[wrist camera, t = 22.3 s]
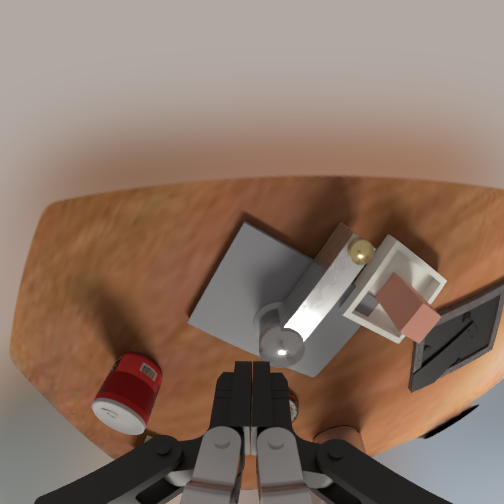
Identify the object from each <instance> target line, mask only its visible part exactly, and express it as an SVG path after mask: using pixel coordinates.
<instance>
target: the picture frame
mask: <svg viewBox="0 0 504 504" xmlns="http://www.w3.org/2000/svg"><path fill="white" fill-rule="evenodd" d="M503 305H504V281H502V282H500V283H498V284H496V285H494V286H493V287H491V288H489V289H487V290H485V291H483V292H481V293H479V294H477V295H475V296H473V297H471V298H469V299H466V300H464V301H462V302H460V303H458V304H456V305H453V306H451V307H449V308H447V309H444V310H442V311H440V312H437V313H438V314H439V315H440V316H441V318H440V319H439V321H438V322H437V323H436V324H435V326H434V327H433V328H432V329H431V330H430V332H429V333H428V334H427V335H426V336H425V338H424V339H423V340H422V341H421V342H420V343H417V342H415V341H414V343H413V354H412V364H411V372H410V380H409V386H408V388H409V390H410V391H411V392H414V391H416V390H419V389H421V388H423V387H425V386H428V385H430V384H432V383H434V382H435V381H436V380H437V379H439V378H441V377H443V376H445V375H447V374H449V373H451V372H453V371H455V370H457V369H459V368H461V367H463V366H464V365H466V364H468V363H470V362H472V361H473V360H475V359H477V358H479V357H480V356H482V355H484V354H485V353H487V352H489V351H490V350H492V348H493V345H494V341H495V338H496V334H497V330H498V327H499V323H500V318H501V314H502V310H503Z"/></svg>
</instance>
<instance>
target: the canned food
mask: <svg viewBox="0 0 504 504" xmlns="http://www.w3.org/2000/svg"><path fill="white" fill-rule="evenodd" d="M161 383H162V373H161V370H160V368H159V367H158V366H157V364H156V363H155V362H153V361H152V360H151V359H149V358H148V357H146V356H144V355H141V354H138V353H132V352H130V353H125V354H123V355H122V356H120V357H119V358H118V359H117V361H116V363H115V364H114V366H113V368H112V369H111V371H110V373H109V374H108V376H107V378H106V380H105V381H104V383H103V385H102V386H101V388H100V390H99V392H98V394H97V395H96V397H95V399H94V401H93V404H92V409H93V412H94V413H95V415H96V416H97V417H98V418H99V419H100V420H101V421H102V422H103V423H105V424H106V425H108V426H109V427H111V428H113V429H115V430H117V431H119V432H122V433H125V434H130V435H139V434H141V433H143V432H144V430H145V428H146V425H147V423H148V420H149V417H150V414H151V411H152V408H153V406H154V403H155V400H156V397H157V394H158V392H159V389H160V386H161Z"/></svg>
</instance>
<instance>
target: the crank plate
mask: <svg viewBox="0 0 504 504" xmlns="http://www.w3.org/2000/svg"><path fill="white" fill-rule="evenodd" d="M313 261H314V260H313V259H312V258H310V257H308V256H307V255H305V254H303V253H301V252H300V251H298V250H296V249H294V248H293V247H291V246H289V245H287V244H286V243H284V242H282V241H280V240H279V239H277V238H275V237H273V236H271V235H270V234H268V233H266V232H264V231H263V230H261V229H259V228H257V227H255V226H254V225H252V224H250V223H248V222H247V221H244V222H243V224H242V226H241V228H240V229H239V231H238V233H237V234H236V236H235V238H234V240H233V241H232V243H231V245H230V247H229V248H228V250H227V252H226V254H225V255H224V257H223V259H222V261H221V262H220V264H219V266H218V268H217V269H216V271H215V273H214V275H213V276H212V278H211V280H210V282H209V284H208V285H207V287H206V289H205V291H204V292H203V294H202V296H201V298H200V300H199V301H198V303H197V305H196V307H195V309H194V310H193V312H192V314H191V316H190V318H189V320H188V322H187V323H188V324H190V325H192V326H194V327H196V328H198V329H200V330H202V331H204V332H206V333H209V334H211V335H213V336H215V337H217V338H219V339H221V340H223V341H225V342H228V343H230V344H232V345H234V346H236V347H239V348H241V349H243V350H245V351H248V352H250V353H252V354H255V355H257V356H259V357H260V355H259V322H260V320H261V318H262V316H263V315H264V314H265V313H267V312H268V311H270V310H272V309H277V308H279V307H280V306H281V305H282V303H283V302H284V301H285V299H286V298H287V297H288V295H289V294H290V292H291V291H292V290H293V288H294V287H295V286H296V284H297V283H298V282H299V280H300V279H301V277H302V276H303V275H304V273H305V272H306V270H307V269H308V268H309V266H310V265H311V263H312V262H313ZM355 288H356V286H355V284H354V283H353V282H352V283H351V284H350V285H349V287H348V288H347V289H346V290H345V292H344V293H343V294H342V296H341V297H340V298H339V299H338V301H337V302H336V303H335V305H334V306H333V307H332V308H331V310H330V311H329V312H328V313H327V314H326V316H325V317H324V318H323V319H322V321H321V322H320V323H319V324H318V325H317V327H316V328H315V329H314V330H313V331H312V332H311V334H310V335H309V336H308V337H307V338H306V339H305V341H304V346H305V353H304V355H303V357H302V359H301V360H300V361H299V362H297V363H296V364H294V365H292V366H289V367H286V368H289V369H291V370H294V371H296V372H299V373H302V374H304V375H307V376H310V377H312V378H314V377H315V376H316V375H317V374H318V373H319V372H320V371H321V370H322V369H323V368H324V367H325V366H326V365H327V364H328V363H329V362H330V360H331V359H332V358H333V357H334V356H335V355H336V354H337V353H338V352H339V351H340V350H341V348H342V347H343V346H344V345H345V344H346V343H347V342H348V340H349V339H350V338H351V337H352V336H353V335H354V333H355V332H356V331H357V330H358V329H359V328H360V326H361V325H360V324H358V323H356V322H354V321H352V320H350V319H349V318H347V317H345V316H343V315H342V313H341V311H340V307H341V306H342V305H343V303H344V302H345V301H346V299H347V298H348V297H349V296H350V294H351V293H352V292H353V290H354V289H355ZM378 304H379V302H378V300H377V299H376V298H375V297H374V296H372V295H371V294H369V293H367V294H366V295H365V296H364V297H363V299H362V300H361V301H360V303H359V304H358V305H357V307H356V308H355V309H354V310H356V311H358V312H359V313H361V314H363V315H365V316H367V317H369V315H370V314H371V313H372V312H373V310H374V309H375V308H376V307H377V305H378Z"/></svg>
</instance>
